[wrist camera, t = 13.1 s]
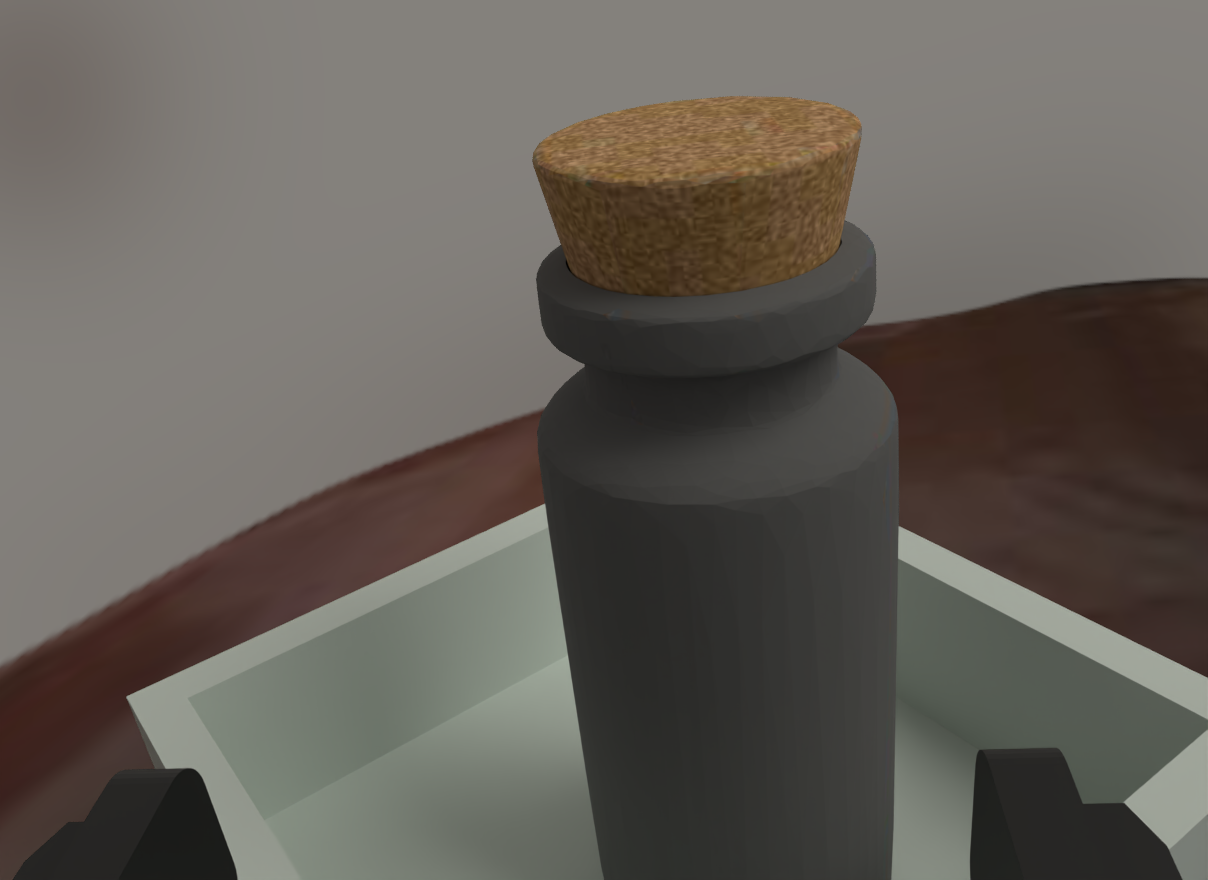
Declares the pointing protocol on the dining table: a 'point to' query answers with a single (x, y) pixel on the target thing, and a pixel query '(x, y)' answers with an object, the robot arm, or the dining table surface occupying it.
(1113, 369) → the dining table surface
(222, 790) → the bin
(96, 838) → the robot arm
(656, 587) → the bottle
